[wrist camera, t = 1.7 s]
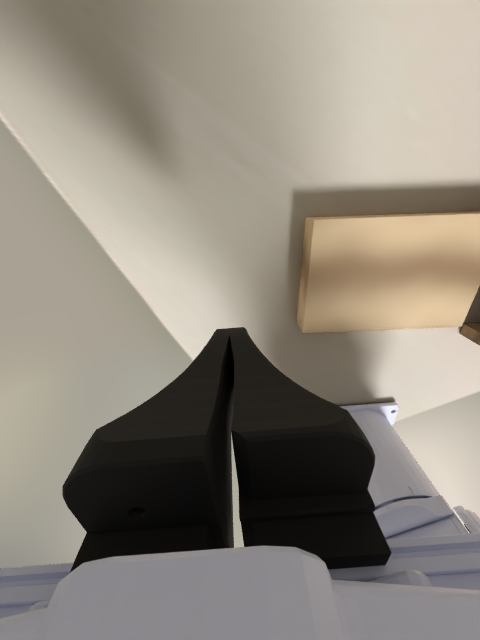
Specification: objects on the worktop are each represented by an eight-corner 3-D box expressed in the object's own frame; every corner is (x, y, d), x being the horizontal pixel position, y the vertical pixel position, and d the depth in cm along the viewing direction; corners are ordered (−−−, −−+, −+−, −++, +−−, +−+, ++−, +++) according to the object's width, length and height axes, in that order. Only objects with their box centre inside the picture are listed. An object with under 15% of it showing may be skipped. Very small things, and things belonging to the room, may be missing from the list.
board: (438, 313, 22) (461, 326, 20) (295, 319, 22) (302, 333, 19) (477, 210, 18) (512, 212, 16) (303, 217, 18) (314, 219, 16)
